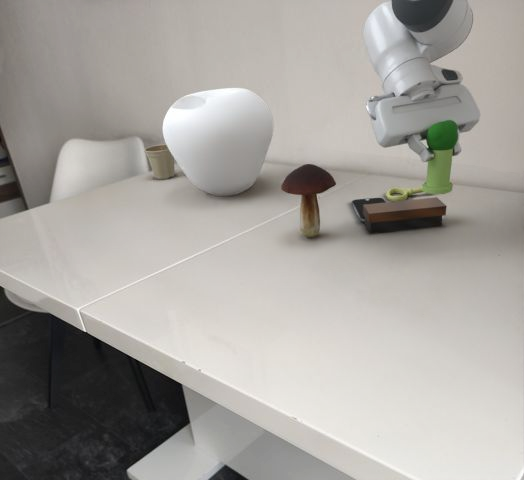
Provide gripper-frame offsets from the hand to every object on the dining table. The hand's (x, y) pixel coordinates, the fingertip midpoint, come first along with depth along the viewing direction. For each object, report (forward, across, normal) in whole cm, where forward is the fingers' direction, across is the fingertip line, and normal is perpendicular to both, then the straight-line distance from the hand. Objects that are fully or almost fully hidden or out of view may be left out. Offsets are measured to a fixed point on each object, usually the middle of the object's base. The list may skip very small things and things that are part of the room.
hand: (442, 156), depth 94 cm
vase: (-33, -20, +57) cm, 69 cm away
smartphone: (-6, +3, +30) cm, 31 cm away
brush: (+2, +3, +22) cm, 22 cm away
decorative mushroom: (-2, -16, +26) cm, 31 cm away
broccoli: (+4, 0, +5) cm, 6 cm away
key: (-8, +16, +33) cm, 38 cm away
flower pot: (-52, -30, +77) cm, 97 cm away
